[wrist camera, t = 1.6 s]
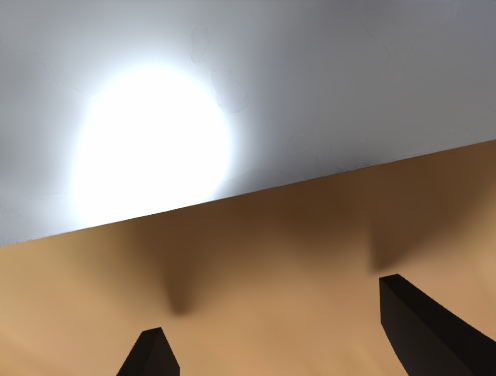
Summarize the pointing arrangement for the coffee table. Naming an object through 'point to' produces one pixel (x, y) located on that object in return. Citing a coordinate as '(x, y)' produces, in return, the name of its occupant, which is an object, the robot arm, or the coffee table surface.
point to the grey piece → (224, 98)
